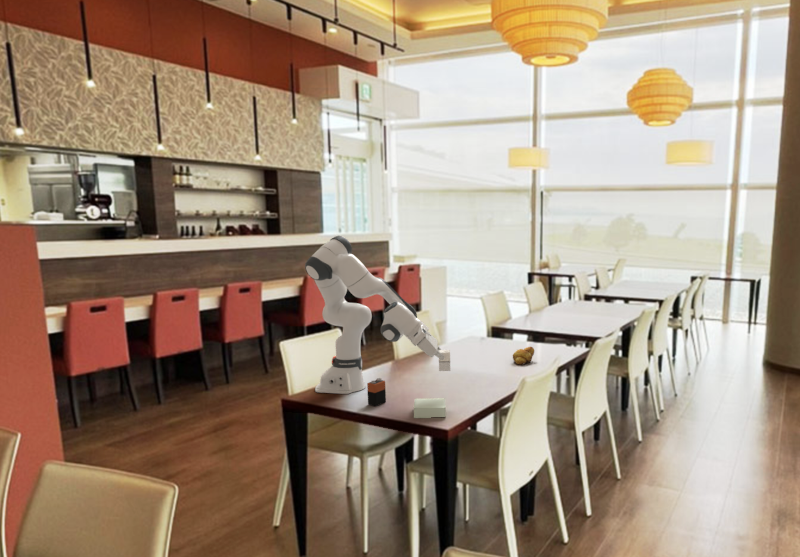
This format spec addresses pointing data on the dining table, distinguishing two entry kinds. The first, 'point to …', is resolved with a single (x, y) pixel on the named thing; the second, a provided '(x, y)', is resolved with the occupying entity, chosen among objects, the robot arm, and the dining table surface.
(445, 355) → the block
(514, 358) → the bread roll
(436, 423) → the dining table surface
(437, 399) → the stand
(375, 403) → the battery
